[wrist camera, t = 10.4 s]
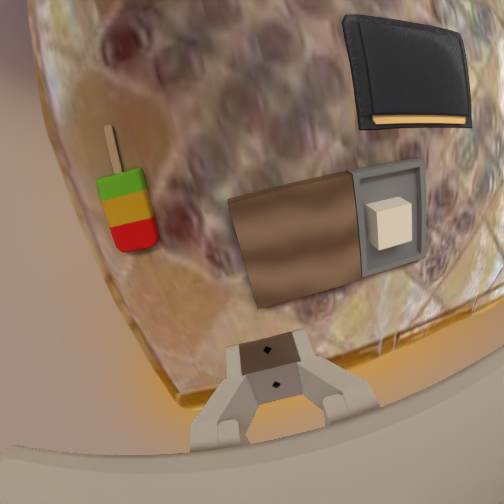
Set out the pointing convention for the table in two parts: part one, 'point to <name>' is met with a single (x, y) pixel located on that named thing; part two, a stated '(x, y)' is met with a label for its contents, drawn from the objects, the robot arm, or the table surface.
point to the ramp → (298, 238)
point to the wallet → (407, 74)
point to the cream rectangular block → (389, 222)
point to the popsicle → (127, 203)
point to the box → (386, 187)
